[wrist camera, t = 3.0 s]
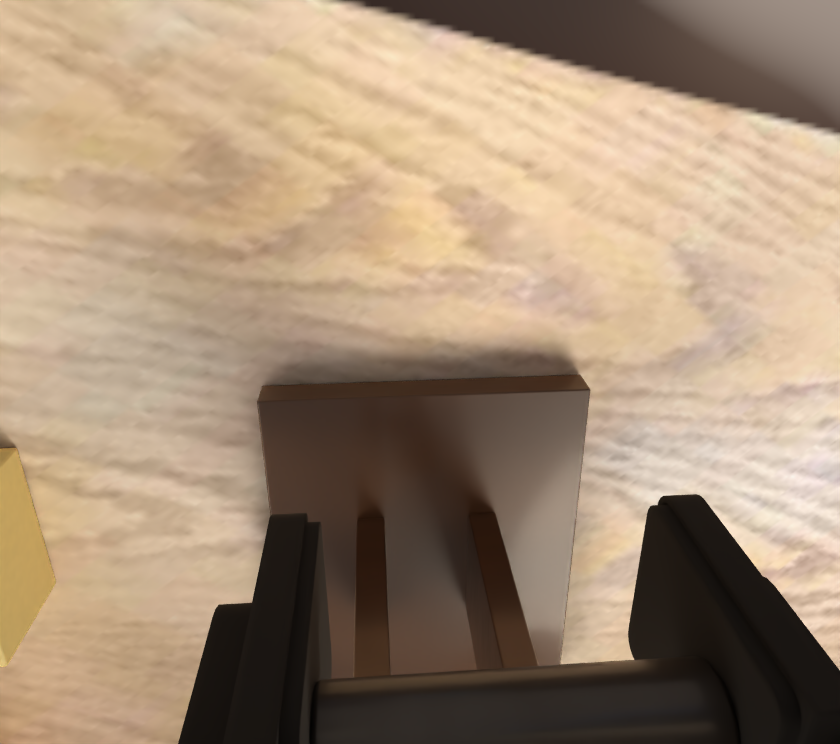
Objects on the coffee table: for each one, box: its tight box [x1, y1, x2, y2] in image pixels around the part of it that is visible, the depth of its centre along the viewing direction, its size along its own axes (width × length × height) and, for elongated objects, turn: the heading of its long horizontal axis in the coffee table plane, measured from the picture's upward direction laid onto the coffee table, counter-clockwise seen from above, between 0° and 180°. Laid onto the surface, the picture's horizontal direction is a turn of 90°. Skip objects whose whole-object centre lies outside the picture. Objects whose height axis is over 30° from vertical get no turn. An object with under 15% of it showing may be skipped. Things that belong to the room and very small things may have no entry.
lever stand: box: [257, 375, 590, 679], centre depth 21 cm, size 14×11×12 cm
